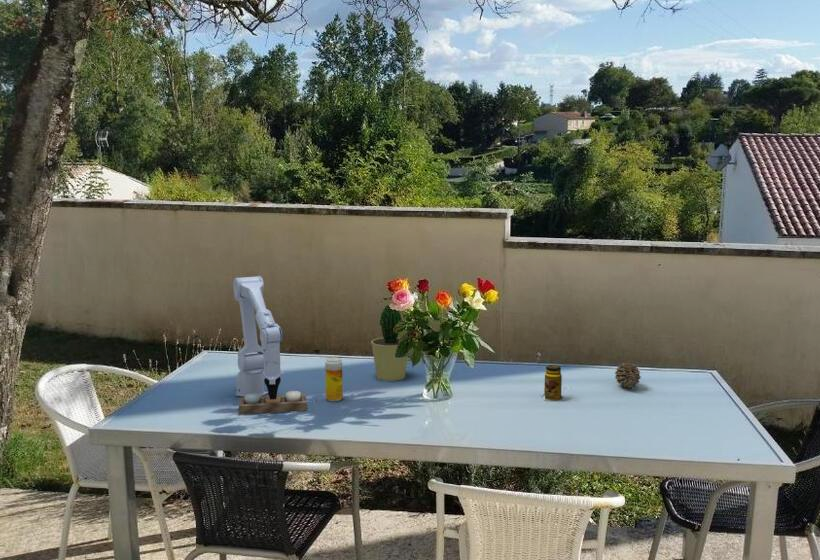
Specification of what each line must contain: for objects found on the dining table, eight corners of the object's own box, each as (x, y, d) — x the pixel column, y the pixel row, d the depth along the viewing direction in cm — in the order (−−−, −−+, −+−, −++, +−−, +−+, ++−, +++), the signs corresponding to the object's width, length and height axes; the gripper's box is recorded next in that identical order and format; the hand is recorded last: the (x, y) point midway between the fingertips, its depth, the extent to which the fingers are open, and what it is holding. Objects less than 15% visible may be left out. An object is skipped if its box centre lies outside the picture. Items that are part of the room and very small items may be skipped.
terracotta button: (265, 409, 263) (265, 401, 262) (265, 404, 268) (265, 396, 267) (280, 408, 264) (280, 400, 263) (280, 403, 269) (280, 396, 268)
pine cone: (644, 393, 282) (645, 367, 280) (617, 392, 283) (618, 367, 281) (632, 377, 304) (633, 353, 302) (608, 376, 305) (608, 352, 303)
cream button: (285, 403, 264) (285, 395, 263) (285, 399, 269) (285, 391, 268) (301, 402, 265) (300, 394, 264) (300, 398, 270) (300, 390, 269)
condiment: (545, 401, 273) (546, 368, 271) (540, 394, 281) (541, 362, 280) (565, 401, 273) (566, 368, 272) (559, 394, 282) (560, 362, 280)
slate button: (244, 405, 261) (244, 398, 261) (245, 401, 266) (245, 393, 266) (260, 404, 262) (259, 397, 262) (260, 400, 267) (260, 392, 267)
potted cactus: (363, 377, 304) (362, 304, 300) (389, 370, 316) (388, 299, 311) (392, 384, 294) (391, 308, 290) (417, 376, 306) (417, 303, 301)
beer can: (340, 402, 272) (339, 361, 270) (323, 401, 274) (323, 360, 271) (344, 397, 278) (344, 357, 276) (328, 396, 279) (328, 356, 277)
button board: (239, 414, 259) (238, 406, 259) (240, 405, 269) (239, 397, 268) (307, 410, 263) (306, 402, 263) (305, 402, 273) (305, 394, 272)
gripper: (283, 365, 257) (284, 404, 259) (283, 355, 271) (284, 392, 273) (262, 366, 256) (263, 405, 258) (263, 356, 270) (264, 393, 272)
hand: (273, 398), depth 265 cm, fingers closed, pressing on terracotta button
